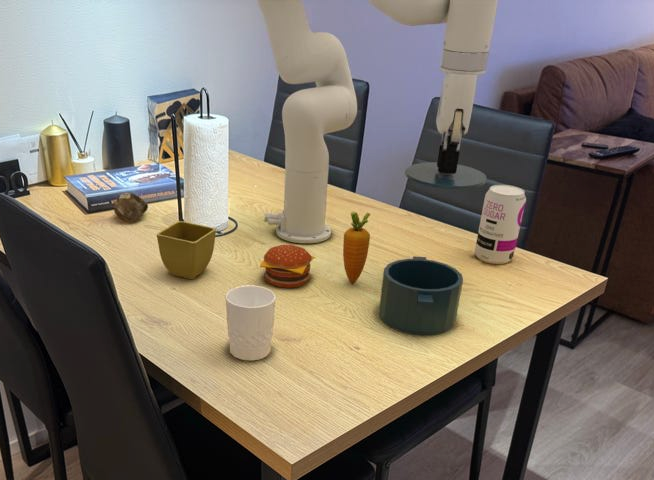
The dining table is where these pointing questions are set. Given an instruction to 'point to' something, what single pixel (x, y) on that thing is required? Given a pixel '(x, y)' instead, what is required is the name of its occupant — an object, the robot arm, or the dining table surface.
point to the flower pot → (186, 248)
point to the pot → (420, 296)
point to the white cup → (250, 321)
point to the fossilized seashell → (129, 207)
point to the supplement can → (500, 224)
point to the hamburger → (287, 266)
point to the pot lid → (445, 176)
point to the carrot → (355, 247)
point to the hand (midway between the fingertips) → (446, 169)
